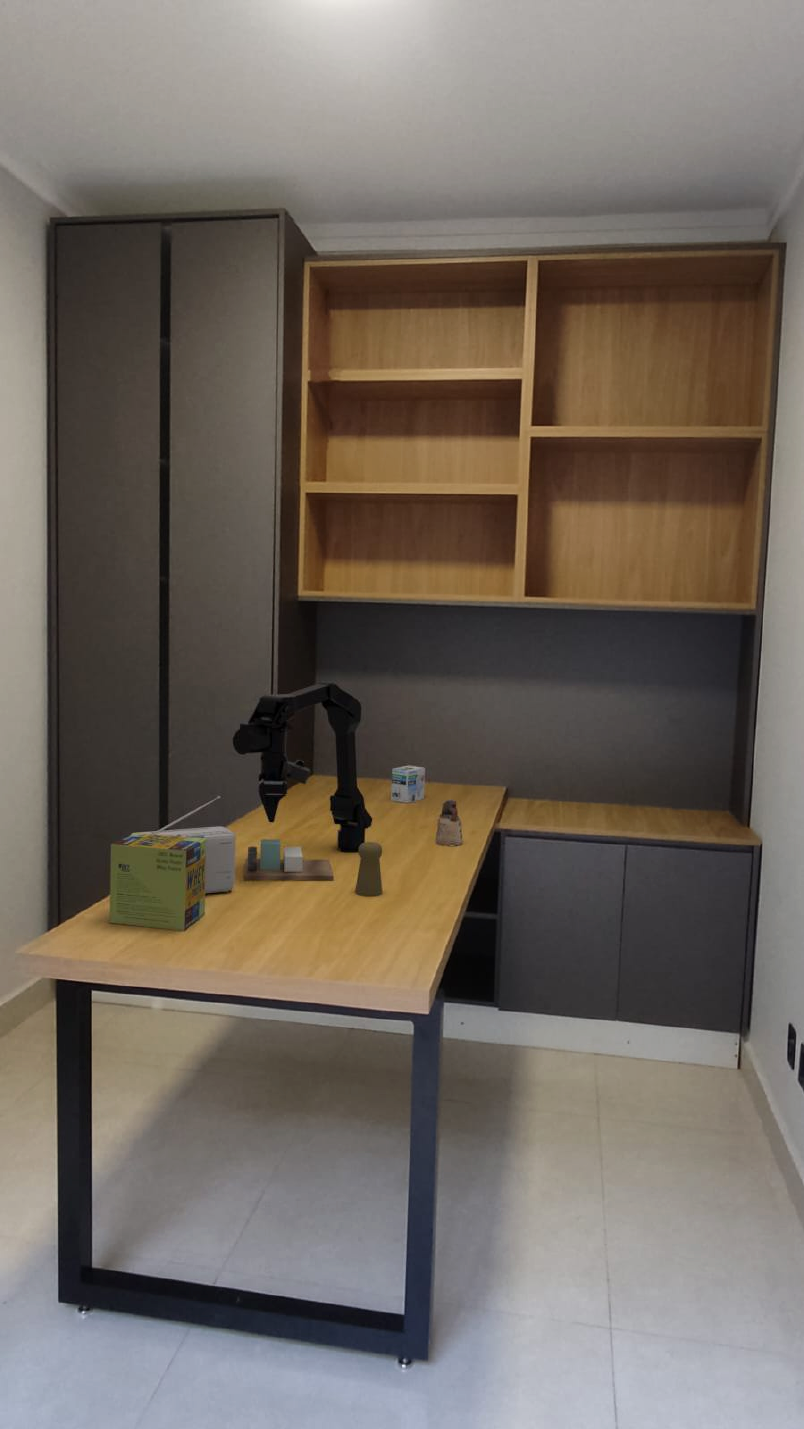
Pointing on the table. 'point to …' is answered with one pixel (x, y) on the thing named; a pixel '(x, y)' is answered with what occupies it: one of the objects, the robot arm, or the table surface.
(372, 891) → the olive pepper mill
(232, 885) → the stereo radio cassette player
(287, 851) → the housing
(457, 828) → the figurine
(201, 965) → the table surface
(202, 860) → the protein box
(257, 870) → the board
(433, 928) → the table surface
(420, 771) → the light bulb box
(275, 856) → the block
